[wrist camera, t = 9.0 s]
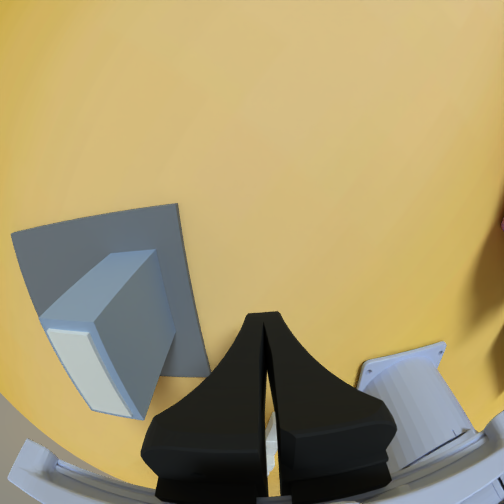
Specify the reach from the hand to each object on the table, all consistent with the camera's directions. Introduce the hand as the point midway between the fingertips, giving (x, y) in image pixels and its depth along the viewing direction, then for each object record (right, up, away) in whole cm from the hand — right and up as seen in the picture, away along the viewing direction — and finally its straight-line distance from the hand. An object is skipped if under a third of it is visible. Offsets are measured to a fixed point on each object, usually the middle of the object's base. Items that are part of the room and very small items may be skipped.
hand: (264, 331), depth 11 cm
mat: (-11, 0, +5) cm, 12 cm away
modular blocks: (-2, -18, +12) cm, 21 cm away
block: (-7, +1, +4) cm, 8 cm away
